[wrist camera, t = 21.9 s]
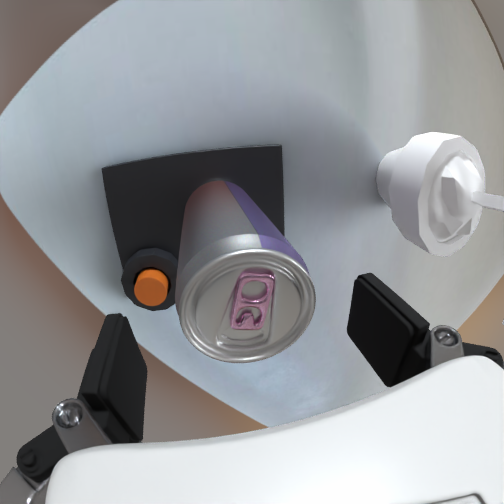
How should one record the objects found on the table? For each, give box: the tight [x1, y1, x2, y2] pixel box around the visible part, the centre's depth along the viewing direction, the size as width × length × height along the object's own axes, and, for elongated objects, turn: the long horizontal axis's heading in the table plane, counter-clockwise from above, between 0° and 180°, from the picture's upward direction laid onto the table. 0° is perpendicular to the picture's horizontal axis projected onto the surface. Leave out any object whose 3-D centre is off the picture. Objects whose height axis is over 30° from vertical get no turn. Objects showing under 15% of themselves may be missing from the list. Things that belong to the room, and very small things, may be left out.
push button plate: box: [102, 145, 284, 311], centre depth 24 cm, size 16×14×3 cm
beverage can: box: [175, 181, 316, 363], centre depth 17 cm, size 6×6×15 cm
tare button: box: [134, 268, 168, 306], centre depth 23 cm, size 3×3×2 cm
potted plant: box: [376, 132, 504, 325], centre depth 16 cm, size 13×12×25 cm
